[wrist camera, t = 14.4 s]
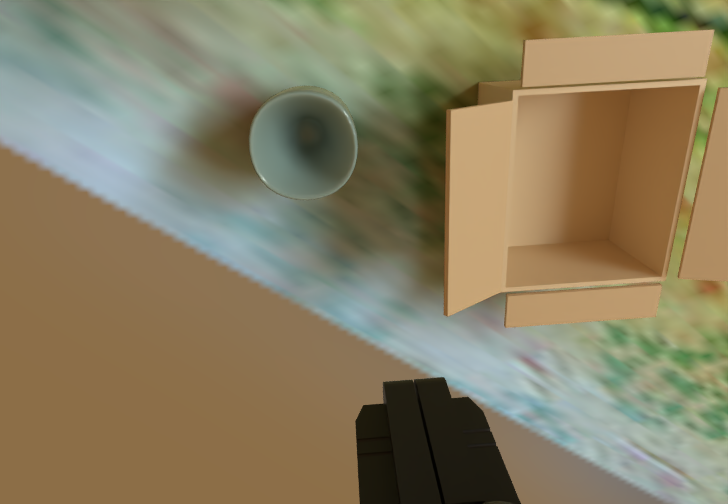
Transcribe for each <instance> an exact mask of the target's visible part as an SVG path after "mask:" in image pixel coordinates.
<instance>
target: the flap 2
mask: <svg viewBox="0 0 728 504" xmlns="http://www.w3.org/2000/svg"><path fill="white" fill-rule="evenodd" d="M678 278H679V279H693V280H711V281H728V87H727V88H718V91H717V96H716V101H715V105H714V110H713V114H712V119H711V124H710V128H709V133H708V138H707V142H706V147H705V152H704V156H703V161H702V165H701V170H700V175H699V179H698V184H697V189H696V193H695V198H694V202H693V207H692V212H691V216H690V221H689V226H688V230H687V235H686V240H685V244H684V249H683V253H682V258H681V263H680V267H679V272H678Z"/></svg>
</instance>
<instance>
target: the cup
mask: <svg viewBox="0 0 728 504" xmlns="http://www.w3.org/2000/svg"><path fill="white" fill-rule="evenodd" d="M249 151H250V156H251V161H252V164H253V166H254V169H255V171H256V173H257V175H258V176H259V178H260V180H261V181H262V182H263V183H264V184H265V185H266V186H267V187H268V188H269V189H271V190H272V191H274V192H275V193H277V194H279V195H281V196H284V197H286V198H291V199H296V200H312V199H319V198H322V197H325V196H328V195H330V194H332V193H334V192H336V191H338V190H339V189H340V188H341V187H342V186H343V185H345V184H346V182H347V181H348V179H349V178H350V177H351V175H352V172H353V170H354V168H355V165H356V160H357V156H358V139H357V131H356V127H355V124H354V120H353V117H352V115H351V113H350V111H349V109H348V107H347V106H346V104H345V103H344V102H343V101H342V100H341V98H339V97H338V96H337V95H335V94H334V93H333V92H331V91H328V90H326V89H324V88H320V87H316V86H297V87H292V88H289V89H285V90H283V91H281V92H279V93H277V94H275V95H274V96H272V97H271V98H269V99H268V100H267V101H266V102H265V103H264V104H263V105H262V106H261V107H260V108H259V110H258V111H257V113H256V114H255V116H254V118H253V121H252V124H251V127H250V133H249Z"/></svg>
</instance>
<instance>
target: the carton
mask: <svg viewBox="0 0 728 504" xmlns="http://www.w3.org/2000/svg"><path fill="white" fill-rule="evenodd" d="M713 34H714V30H700V31H682V32H664V33H646V34H628V35H611V36H593V37H575V38H557V39H539V40H523V55H522V69H521V80H512V81H495V82H479V87H478V105H482V104H488V103H495V102H501V101H508V100H510V101H513V111H512V127H511V142H510V158H509V174H508V190H507V206H506V221H505V237H504V253H503V269H502V285H501V292H513V291H527V290H541V289H555V288H569V287H583V286H597V285H611V284H626V283H640V282H654V281H666V276H667V271H668V266H669V262H670V257H671V252H672V247H673V242H674V237H675V232H676V228H677V223H678V218H679V213H680V208H681V203H682V198H683V194H684V189H685V184H686V179H687V174H688V169H689V164H690V160H691V155H692V150H693V145H694V140H695V135H696V131H697V126H698V121H699V116H700V111H701V106H702V101H703V97H704V92H705V87H706V82H707V79H703V78H690V77H705V73H706V68H707V63H708V59H709V54H710V49H711V44H712V39H713ZM661 289H662V285H661V284H660V283H655V284H641V285H627V286H613V287H599V288H585V289H571V290H557V291H543V292H529V293H514V294H506V305H505V320H504V326H505V328H508V327H522V326H536V325H550V324H563V323H577V322H591V321H604V320H618V319H632V318H645V317H656V313H657V308H658V304H659V299H660V294H661Z"/></svg>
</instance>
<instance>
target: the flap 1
mask: <svg viewBox="0 0 728 504" xmlns="http://www.w3.org/2000/svg"><path fill="white" fill-rule="evenodd" d="M512 111H513V101H510V100H508V101H501V102H495V103H488V104H482V105H475V106H469V107H462V108H456V109H449V110H446V182H445V259H444V315H445V316H447V317H448V316H450V315H453V314H455V313H457V312H459V311H461V310H463V309H465V308H468V307H470V306H472V305H474V304H476V303H478V302H480V301H483V300H485V299H487V298H489V297H491V296H493V295H495V294H498V293H500V292H501V285H502V269H503V253H504V237H505V221H506V206H507V190H508V174H509V158H510V142H511V127H512Z"/></svg>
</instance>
